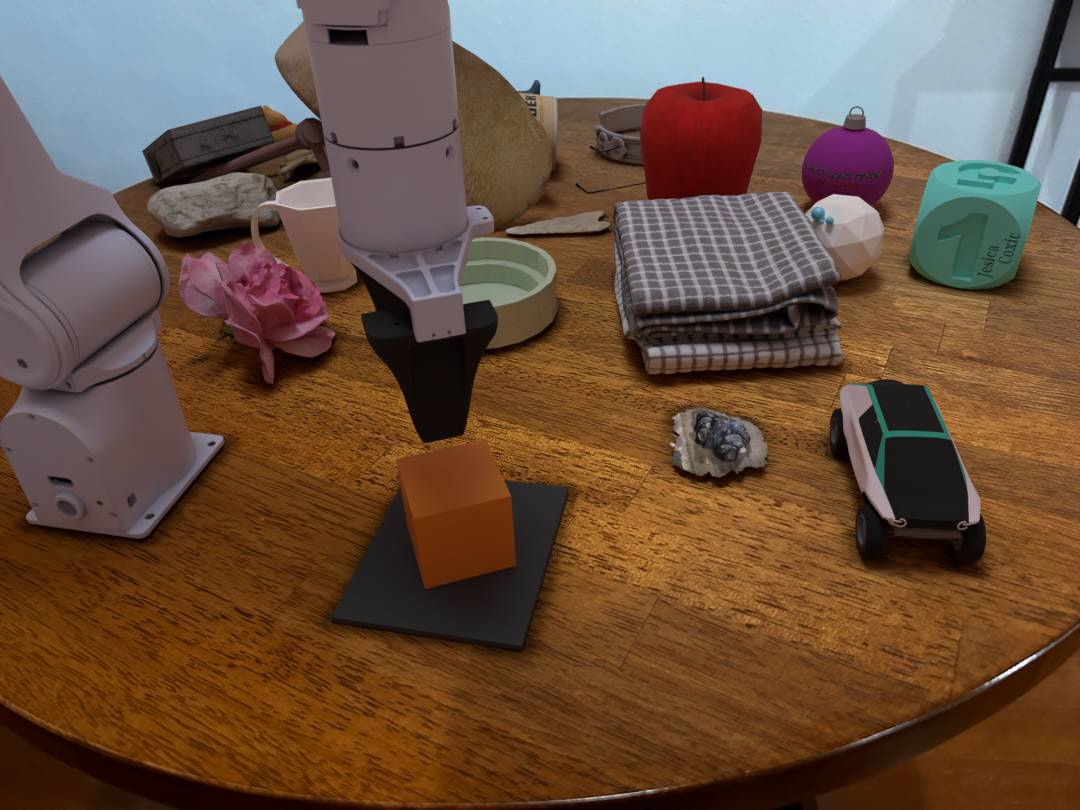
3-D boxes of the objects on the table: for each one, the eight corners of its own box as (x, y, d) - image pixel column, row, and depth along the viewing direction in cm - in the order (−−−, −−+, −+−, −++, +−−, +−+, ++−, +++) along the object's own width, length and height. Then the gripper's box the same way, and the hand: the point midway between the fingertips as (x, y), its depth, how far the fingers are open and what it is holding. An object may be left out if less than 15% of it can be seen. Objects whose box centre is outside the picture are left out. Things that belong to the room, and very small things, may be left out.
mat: (522, 651, 43) (521, 646, 42) (331, 622, 45) (330, 616, 44) (568, 492, 52) (568, 487, 52) (410, 473, 54) (409, 468, 54)
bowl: (538, 361, 64) (536, 314, 62) (382, 348, 67) (375, 302, 64) (570, 285, 74) (569, 241, 72) (432, 276, 76) (427, 233, 74)
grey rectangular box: (236, 162, 103) (152, 186, 98) (223, 128, 102) (137, 151, 97) (277, 142, 89) (181, 169, 85) (262, 103, 88) (164, 129, 84)
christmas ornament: (891, 202, 86) (912, 98, 80) (875, 234, 80) (897, 124, 74) (807, 190, 89) (822, 89, 83) (786, 220, 83) (800, 114, 77)
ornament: (881, 214, 74) (898, 179, 67) (870, 296, 74) (885, 270, 66) (798, 207, 76) (806, 172, 68) (787, 287, 75) (793, 260, 67)
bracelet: (656, 174, 93) (657, 147, 92) (567, 146, 102) (567, 120, 100) (735, 142, 101) (738, 116, 99) (647, 118, 109) (648, 94, 108)
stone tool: (602, 213, 86) (502, 225, 85) (602, 205, 85) (501, 217, 84) (615, 233, 82) (510, 246, 81) (615, 225, 82) (510, 238, 80)
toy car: (921, 435, 55) (940, 364, 52) (978, 573, 46) (1005, 496, 43) (825, 432, 56) (839, 361, 53) (861, 568, 46) (880, 491, 43)
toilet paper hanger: (363, 105, 101) (398, 83, 89) (392, 175, 104) (430, 163, 91) (182, 172, 94) (194, 158, 81) (219, 245, 96) (235, 243, 84)
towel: (780, 259, 76) (792, 172, 71) (846, 375, 61) (866, 273, 56) (605, 267, 76) (606, 180, 71) (628, 385, 61) (630, 284, 56)
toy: (232, 147, 107) (223, 105, 104) (373, 142, 107) (368, 100, 104) (225, 155, 104) (215, 112, 101) (370, 150, 104) (364, 107, 101)
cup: (357, 302, 73) (341, 210, 68) (246, 296, 74) (222, 206, 70) (384, 264, 78) (371, 178, 74) (280, 260, 80) (260, 174, 75)
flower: (345, 354, 72) (380, 284, 65) (259, 426, 66) (287, 357, 58) (241, 263, 72) (264, 181, 64) (145, 325, 66) (159, 243, 58)
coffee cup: (558, 154, 89) (440, 152, 88) (552, 192, 98) (444, 190, 97) (557, 70, 91) (441, 67, 90) (551, 116, 100) (445, 113, 99)
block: (516, 566, 47) (511, 495, 44) (424, 589, 46) (413, 518, 43) (492, 507, 51) (486, 438, 48) (407, 527, 50) (395, 458, 47)
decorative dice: (902, 279, 72) (923, 187, 68) (918, 241, 78) (938, 154, 74) (1008, 298, 69) (1038, 202, 65) (1016, 257, 75) (1044, 166, 70)
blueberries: (688, 495, 52) (690, 470, 50) (638, 419, 58) (639, 396, 57) (791, 471, 53) (795, 446, 52) (731, 400, 59) (733, 376, 58)
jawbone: (263, 169, 101) (259, 151, 100) (428, 139, 108) (426, 122, 107) (281, 187, 94) (277, 168, 93) (456, 154, 101) (454, 136, 100)
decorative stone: (209, 261, 80) (194, 209, 77) (136, 237, 85) (120, 187, 82) (307, 214, 88) (297, 166, 85) (236, 194, 93) (224, 148, 90)
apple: (630, 244, 80) (634, 91, 72) (646, 201, 88) (651, 59, 80) (749, 252, 77) (766, 95, 70) (754, 207, 85) (770, 62, 78)
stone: (345, -50, 86) (352, -7, 92) (240, 47, 82) (254, 87, 88) (589, 126, 83) (580, 159, 89) (493, 236, 79) (490, 263, 85)
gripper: (531, 171, 32) (543, 459, 40) (448, 74, 44) (469, 313, 51) (338, 199, 31) (390, 493, 38) (304, 91, 42) (349, 335, 50)
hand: (426, 392), depth 45 cm, fingers open, 7 cm apart
